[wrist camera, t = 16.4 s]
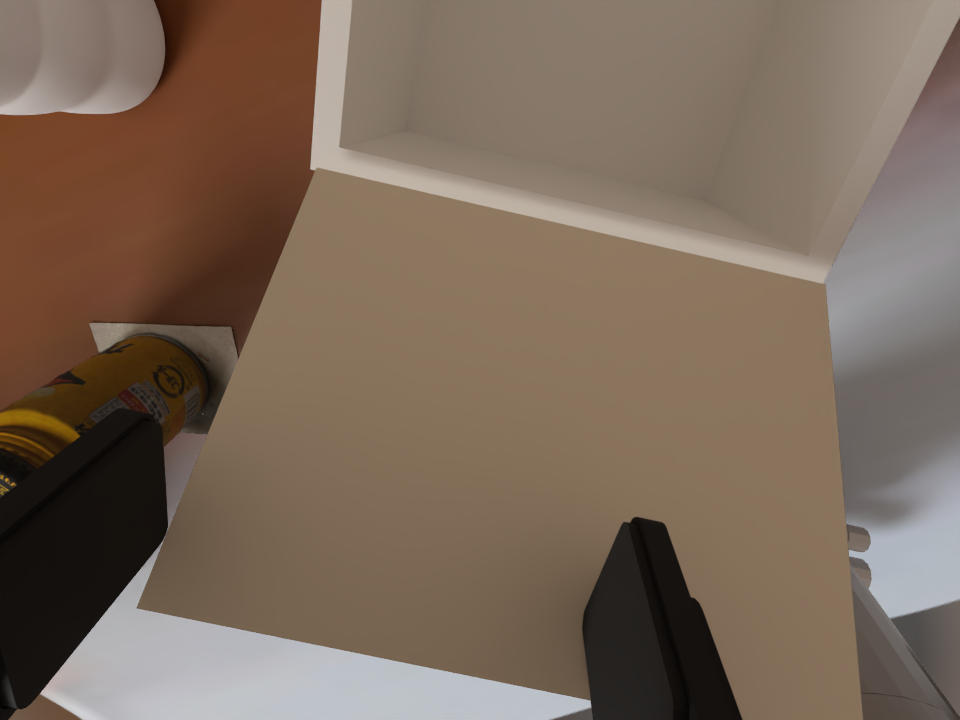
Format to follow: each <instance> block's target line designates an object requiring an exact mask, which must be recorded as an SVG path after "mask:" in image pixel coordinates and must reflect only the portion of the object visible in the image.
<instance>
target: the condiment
mask: <svg viewBox="0 0 960 720" xmlns="http://www.w3.org/2000/svg"><path fill="white" fill-rule="evenodd" d="M89 325H90V327H91V330H92V333H93V336H94V340H95V342H96V344H97V348H98V351H99V352H100V353H98V354H97V355H95V356H93V357H91V358H90V359H87V360H86V361H85V362H83V363H81V364H79V365H78V366H76V367H74V368H73V369H71V370H70V371H68V372H66V373H65V374H62V375H60V376H58V377H57V378H55V379H54V380H53V381H51V382H50V383H48V384H46V385H44V386H42V387H40V388H39V389H38V390H36V391H33V392H32V393H31V394H28V395H26V396H25V397H24V398H22V399H21V400H19V401H17V402H16V403H13V404H11V405H10V406H8V407H7V408H5V409H3V410H2V411H0V497H2V496H3V495H4V494H5V493H7V492H8V491H9V490H11V489H12V488H13V487H15V486H16V485H17V484H19V483H20V482H21V481H22V480H24V479H25V478H26V477H28V476H29V475H30V474H32V473H33V472H34V471H36V470H37V469H38V468H39V467H41V466H42V465H43V464H45V463H46V462H47V461H49V460H50V459H51V458H52V457H54V456H55V455H56V454H58V453H59V452H60V451H62V450H63V449H64V448H66V447H67V446H68V445H69V444H71V443H72V442H73V441H75V440H76V439H77V438H79V437H80V436H81V435H83V434H84V433H85V432H86V431H88V430H89V429H90V428H92V427H93V426H94V425H96V424H97V423H98V422H100V421H101V420H102V419H103V418H105V417H106V416H107V415H109V414H110V413H111V412H113V411H114V410H116V409H118V408H126V409H131V410H136V411H140V412H145V413H150V414H152V415H153V416H154V418H155V422H156V423H159V424H161V426H162V430H163V447H164V446H165V445H167V444H168V443H169V442H170V441H171V440H172V439H173V438H174V437H175V436H176V435H177V434H178V433H179V432H186V433H195V434H208V432H209V430H210V427H211V425H212V422H213V420H214V417H215V415H216V413H217V410H218V408H219V405H220V403H221V400H222V398H223V395H224V393H225V391H226V388H227V386H228V383H229V381H230V378H231V376H232V373H233V371H234V369H235V366H236V364H237V361H238V356H237V350H236V346H235V343H234V338H233V333H232V328H231V327H211V326H176V325H159V324H127V323H89ZM198 353H200V354H201V355H202V357H199V356H198ZM204 357H206V358H208V359H209V361H210V362H208V361H206V360H205V359H204ZM202 413H203V414H204V415H202Z"/></svg>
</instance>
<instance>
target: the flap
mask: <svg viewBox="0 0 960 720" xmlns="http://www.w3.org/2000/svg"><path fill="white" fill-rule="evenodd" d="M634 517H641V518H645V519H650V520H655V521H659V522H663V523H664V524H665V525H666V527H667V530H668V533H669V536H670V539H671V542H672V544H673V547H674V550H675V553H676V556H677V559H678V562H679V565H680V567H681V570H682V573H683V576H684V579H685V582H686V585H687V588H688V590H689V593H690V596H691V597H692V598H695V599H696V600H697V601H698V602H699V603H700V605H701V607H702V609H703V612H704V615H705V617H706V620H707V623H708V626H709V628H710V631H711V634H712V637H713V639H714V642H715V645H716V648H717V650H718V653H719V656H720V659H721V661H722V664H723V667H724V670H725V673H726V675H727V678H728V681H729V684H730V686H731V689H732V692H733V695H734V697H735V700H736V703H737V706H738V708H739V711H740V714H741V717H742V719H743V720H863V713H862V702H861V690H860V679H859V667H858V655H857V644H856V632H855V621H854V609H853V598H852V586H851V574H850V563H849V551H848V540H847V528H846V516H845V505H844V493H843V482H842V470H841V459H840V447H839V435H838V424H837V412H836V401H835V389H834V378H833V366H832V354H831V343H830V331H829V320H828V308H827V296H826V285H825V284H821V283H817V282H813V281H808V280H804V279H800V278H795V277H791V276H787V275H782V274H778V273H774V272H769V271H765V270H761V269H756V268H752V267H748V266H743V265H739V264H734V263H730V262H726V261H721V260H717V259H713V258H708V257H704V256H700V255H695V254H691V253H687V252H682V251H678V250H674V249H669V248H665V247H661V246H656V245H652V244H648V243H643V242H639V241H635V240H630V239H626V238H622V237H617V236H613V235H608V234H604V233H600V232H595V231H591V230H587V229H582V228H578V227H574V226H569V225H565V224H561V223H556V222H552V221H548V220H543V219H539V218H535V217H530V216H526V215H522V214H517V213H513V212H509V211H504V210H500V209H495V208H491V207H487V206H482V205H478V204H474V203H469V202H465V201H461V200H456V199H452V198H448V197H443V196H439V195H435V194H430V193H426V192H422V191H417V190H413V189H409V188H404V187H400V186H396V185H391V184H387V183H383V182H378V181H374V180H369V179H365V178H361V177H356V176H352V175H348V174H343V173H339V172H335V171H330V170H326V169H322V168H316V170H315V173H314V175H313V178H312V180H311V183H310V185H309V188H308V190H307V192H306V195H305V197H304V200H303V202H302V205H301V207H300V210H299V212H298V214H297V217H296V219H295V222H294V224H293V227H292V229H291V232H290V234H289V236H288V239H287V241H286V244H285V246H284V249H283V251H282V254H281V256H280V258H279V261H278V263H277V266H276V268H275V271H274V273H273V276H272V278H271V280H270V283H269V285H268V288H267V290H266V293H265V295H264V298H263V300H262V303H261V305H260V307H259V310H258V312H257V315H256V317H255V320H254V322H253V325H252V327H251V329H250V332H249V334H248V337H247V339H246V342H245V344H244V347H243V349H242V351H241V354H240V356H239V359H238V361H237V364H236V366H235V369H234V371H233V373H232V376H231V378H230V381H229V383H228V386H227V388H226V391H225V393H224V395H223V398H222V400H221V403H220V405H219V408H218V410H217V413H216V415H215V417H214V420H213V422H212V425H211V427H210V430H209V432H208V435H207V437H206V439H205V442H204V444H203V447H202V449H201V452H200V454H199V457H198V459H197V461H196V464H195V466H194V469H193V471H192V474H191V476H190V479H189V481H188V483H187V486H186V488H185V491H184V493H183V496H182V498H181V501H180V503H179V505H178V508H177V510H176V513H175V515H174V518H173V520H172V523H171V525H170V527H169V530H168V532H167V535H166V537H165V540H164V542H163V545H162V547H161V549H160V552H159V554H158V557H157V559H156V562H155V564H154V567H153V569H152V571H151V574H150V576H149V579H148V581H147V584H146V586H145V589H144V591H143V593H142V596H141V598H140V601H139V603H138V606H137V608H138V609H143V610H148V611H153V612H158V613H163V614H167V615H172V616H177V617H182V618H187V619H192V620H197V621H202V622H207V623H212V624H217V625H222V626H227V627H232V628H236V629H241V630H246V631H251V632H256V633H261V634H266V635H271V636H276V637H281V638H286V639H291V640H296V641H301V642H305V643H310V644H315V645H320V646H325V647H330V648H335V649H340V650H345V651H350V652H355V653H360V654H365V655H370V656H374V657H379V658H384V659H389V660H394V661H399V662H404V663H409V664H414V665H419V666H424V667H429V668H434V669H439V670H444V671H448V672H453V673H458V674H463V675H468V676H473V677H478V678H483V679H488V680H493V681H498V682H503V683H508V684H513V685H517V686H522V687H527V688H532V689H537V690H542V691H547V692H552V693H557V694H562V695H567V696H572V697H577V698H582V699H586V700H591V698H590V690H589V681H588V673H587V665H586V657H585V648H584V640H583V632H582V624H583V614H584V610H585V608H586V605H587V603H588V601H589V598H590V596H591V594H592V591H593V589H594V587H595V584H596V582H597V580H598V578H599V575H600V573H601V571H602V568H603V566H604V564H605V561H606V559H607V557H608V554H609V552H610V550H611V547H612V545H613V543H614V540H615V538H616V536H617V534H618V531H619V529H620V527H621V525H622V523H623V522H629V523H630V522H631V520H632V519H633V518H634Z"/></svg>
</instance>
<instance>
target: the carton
mask: <svg viewBox="0 0 960 720" xmlns="http://www.w3.org/2000/svg"><path fill="white" fill-rule="evenodd" d="M959 18H960V0H322V9H321V23H320V37H319V52H318V66H317V80H316V95H315V109H314V123H313V138H312V152H311V166H310V169H311V170H316V168H322V169H326V170H330V171H335V172H339V173H343V174H348V175H352V176H356V177H361V178H365V179H369V180H374V181H378V182H383V183H387V184H391V185H396V186H400V187H404V188H409V189H413V190H417V191H422V192H426V193H430V194H435V195H439V196H443V197H448V198H452V199H456V200H461V201H465V202H469V203H474V204H478V205H482V206H487V207H491V208H495V209H500V210H504V211H509V212H513V213H517V214H522V215H526V216H530V217H535V218H539V219H543V220H548V221H552V222H556V223H561V224H565V225H569V226H574V227H578V228H582V229H587V230H591V231H595V232H600V233H604V234H608V235H613V236H617V237H622V238H626V239H630V240H635V241H639V242H643V243H648V244H652V245H656V246H661V247H665V248H669V249H674V250H678V251H682V252H687V253H691V254H695V255H700V256H704V257H708V258H713V259H717V260H721V261H726V262H730V263H734V264H739V265H743V266H748V267H752V268H756V269H761V270H765V271H769V272H774V273H778V274H782V275H787V276H791V277H795V278H800V279H804V280H808V281H813V282H817V283H821V284H823V282H824V281H825V279H826V277H827V275H828V273H829V271H830V269H831V267H832V265H833V263H834V261H835V259H836V257H837V255H838V253H839V251H840V249H841V247H842V245H843V243H844V242H845V240H846V238H847V236H848V234H849V232H850V230H851V228H852V226H853V224H854V222H855V220H856V218H857V216H858V214H859V212H860V210H861V208H862V206H863V205H864V203H865V201H866V199H867V197H868V195H869V193H870V191H871V189H872V187H873V185H874V183H875V181H876V179H877V177H878V175H879V173H880V171H881V169H882V168H883V166H884V164H885V162H886V160H887V158H888V156H889V154H890V152H891V150H892V148H893V146H894V144H895V142H896V140H897V138H898V136H899V134H900V132H901V131H902V129H903V127H904V125H905V123H906V121H907V119H908V117H909V115H910V113H911V111H912V109H913V107H914V105H915V103H916V101H917V99H918V97H919V95H920V94H921V92H922V90H923V88H924V86H925V84H926V82H927V80H928V78H929V76H930V74H931V72H932V70H933V68H934V66H935V64H936V62H937V60H938V58H939V57H940V55H941V53H942V51H943V49H944V47H945V45H946V43H947V41H948V39H949V37H950V35H951V33H952V31H953V29H954V27H955V25H956V23H957V21H958V20H959Z"/></svg>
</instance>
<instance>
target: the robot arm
mask: <svg viewBox="0 0 960 720" xmlns="http://www.w3.org/2000/svg"><path fill="white" fill-rule="evenodd" d="M167 528H168V516H167V499H166V482H165V465H164V447H163V430H162V426H161V424H159V423H156V422H155V418H154V416H153V415H152V414H150V413H145V412H140V411H136V410H131V409H126V408H118V409H116V410H114V411H113V412H111V413H110V414H109V415H107V416H106V417H105V418H103V419H102V420H101V421H100V422H98V423H97V424H96V425H94V426H93V427H92V428H90V429H89V430H88V431H86V432H85V433H84V434H83V435H81V436H80V437H79V438H77V439H76V440H75V441H73V442H72V443H71V444H69V445H68V446H67V447H66V448H64V449H63V450H62V451H60V452H59V453H58V454H56V455H55V456H54V457H52V458H51V459H50V460H49V461H47V462H46V463H45V464H43V465H42V466H41V467H39V468H38V469H37V470H36V471H34V472H33V473H32V474H30V475H29V476H28V477H26V478H25V479H24V480H22V481H21V482H20V483H19V484H17V485H16V486H15V487H13V488H12V489H11V490H9V491H8V492H7V493H5V494H4V495H3V496H2V497H0V720H8V719H9V718H10V717H11V716H12V715H13V713H14V712H15V711H16V710H17V709H23V708H26V707H27V706H28V705H30V704H31V703H32V702H33V701H34V700H35V698H36V697H37V696H38V695H39V694H40V693H41V691H42V690H43V689H44V688H45V686H46V685H47V684H48V683H49V681H50V680H51V679H52V678H53V676H54V675H55V674H56V673H57V672H58V670H59V669H60V668H61V667H62V665H63V664H64V663H65V662H66V660H67V659H68V658H69V657H70V655H71V654H72V653H73V652H74V650H75V649H76V648H77V647H78V646H79V644H80V643H81V642H82V641H83V639H84V638H85V637H86V636H87V634H88V633H89V632H90V631H91V629H92V628H93V627H94V626H95V624H96V623H97V622H98V621H99V619H100V618H101V617H102V616H103V615H104V613H105V612H106V611H107V610H108V608H109V607H110V606H111V605H112V603H113V602H114V601H115V600H116V598H117V597H118V596H119V595H120V593H121V592H122V591H123V590H124V589H125V587H126V586H127V585H128V584H129V582H130V581H131V580H132V579H133V577H134V576H135V575H136V574H137V572H138V571H139V570H140V569H141V567H142V566H143V565H144V564H145V563H146V561H147V560H148V559H149V558H150V556H151V555H152V554H153V553H154V551H155V550H156V549H157V548H158V546H159V545H160V544H161V542H162V541H163V539H164V537H165V535H166V532H167ZM846 528H847V540H848V550H853V551H857V552H865V551H866V550H867V549H868V548H869V546H870V535H869V533H868V531H867V530H865V529H864V528H862V527H857V526H852V525H848V524H846ZM849 563H850V574H851V586H852V598H853V609H854V621H855V632H856V644H857V655H858V667H859V679H860V690H861V702H862V713H863V720H960V716H959V715H958V714H957V712H956V711H955V709H954V708H953V707H952V705H951V704H950V702H949V701H948V700H947V698H946V697H945V695H944V694H943V693H942V691H941V690H940V689H939V687H938V686H937V685H936V683H935V682H934V680H933V679H932V677H931V676H930V674H929V673H928V672H927V670H926V669H925V668H924V666H923V665H922V663H921V662H920V661H919V659H918V658H917V657H916V655H915V654H914V652H913V651H912V649H911V648H910V647H909V645H908V644H907V642H906V641H905V640H904V638H903V637H902V635H901V634H900V633H899V631H898V630H897V628H896V627H895V626H894V624H893V623H892V622H891V620H890V619H889V617H888V616H887V614H886V613H885V612H884V610H883V609H882V607H881V606H880V605H879V603H878V602H877V600H876V599H875V598H874V596H873V595H872V594H871V592H870V591H869V589H868V588H869V586H870V583H871V580H872V579H871V570H870V568H869V566H868V564H867V563H866V562H865V561H864V560H862V559H859V558H854V557H850V556H849ZM582 632H583V640H584V648H585V657H586V665H587V673H588V681H589V690H590V698H591V706H592V714H593V720H743V719H742V717H741V714H740V711H739V708H738V706H737V703H736V700H735V697H734V695H733V692H732V689H731V686H730V684H729V681H728V678H727V675H726V673H725V670H724V667H723V664H722V661H721V659H720V656H719V653H718V650H717V648H716V645H715V642H714V639H713V637H712V634H711V631H710V628H709V626H708V623H707V620H706V617H705V615H704V612H703V609H702V607H701V605H700V603H699V602H698V601H697V600H696V599H695V598H692V597H691V596H690V593H689V590H688V588H687V585H686V582H685V579H684V576H683V573H682V570H681V567H680V565H679V562H678V559H677V556H676V553H675V550H674V547H673V544H672V542H671V539H670V536H669V533H668V530H667V527H666V525H665V524H664V523H663V522H659V521H655V520H650V519H645V518H641V517H634V518H633V519H632V520H631V522H630V523H629V522H623V523H622V525H621V527H620V529H619V531H618V534H617V536H616V538H615V540H614V543H613V545H612V547H611V550H610V552H609V554H608V557H607V559H606V561H605V564H604V566H603V568H602V571H601V573H600V575H599V578H598V580H597V582H596V584H595V587H594V589H593V591H592V594H591V596H590V598H589V601H588V603H587V605H586V608H585V610H584V614H583V624H582Z"/></svg>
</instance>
